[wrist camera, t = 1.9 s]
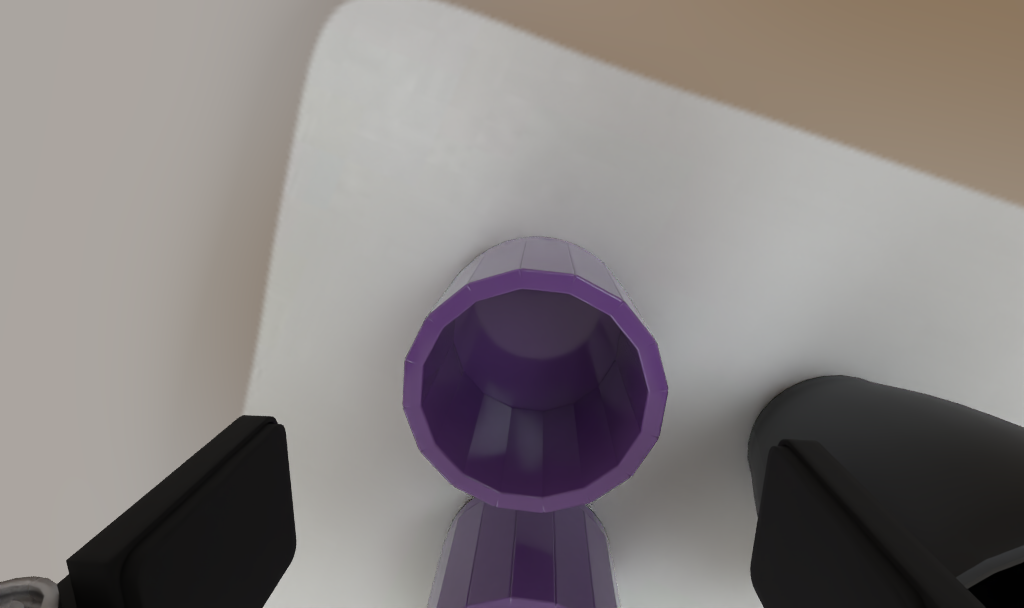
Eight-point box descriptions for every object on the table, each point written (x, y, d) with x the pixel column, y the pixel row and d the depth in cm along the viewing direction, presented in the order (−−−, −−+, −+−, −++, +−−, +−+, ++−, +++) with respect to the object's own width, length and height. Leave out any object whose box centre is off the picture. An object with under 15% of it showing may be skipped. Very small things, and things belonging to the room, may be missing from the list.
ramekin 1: (604, 212, 17) (631, 236, 12) (649, 389, 19) (691, 481, 14) (417, 267, 18) (364, 312, 13) (476, 432, 20) (451, 534, 14)
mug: (979, 587, 20) (1336, 940, 11) (678, 510, 20) (790, 803, 11) (1095, 399, 18) (1663, 648, 9) (758, 312, 18) (980, 473, 9)
